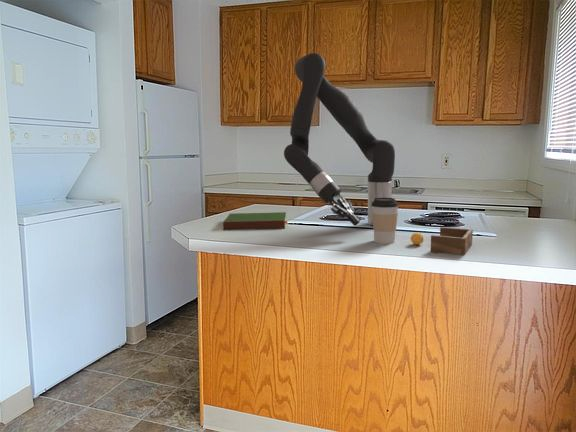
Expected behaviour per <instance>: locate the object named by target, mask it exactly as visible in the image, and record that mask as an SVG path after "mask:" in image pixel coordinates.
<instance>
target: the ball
mask: <svg viewBox="0 0 576 432" xmlns="http://www.w3.org/2000/svg"><path fill="white" fill-rule="evenodd" d="M410 242H411V243H413V244H414V245H416V246H418V245H421V244H422V243H423V242H424V236H423V234H422V233H420V232H414V233H413V234H411V237H410Z"/></svg>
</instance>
